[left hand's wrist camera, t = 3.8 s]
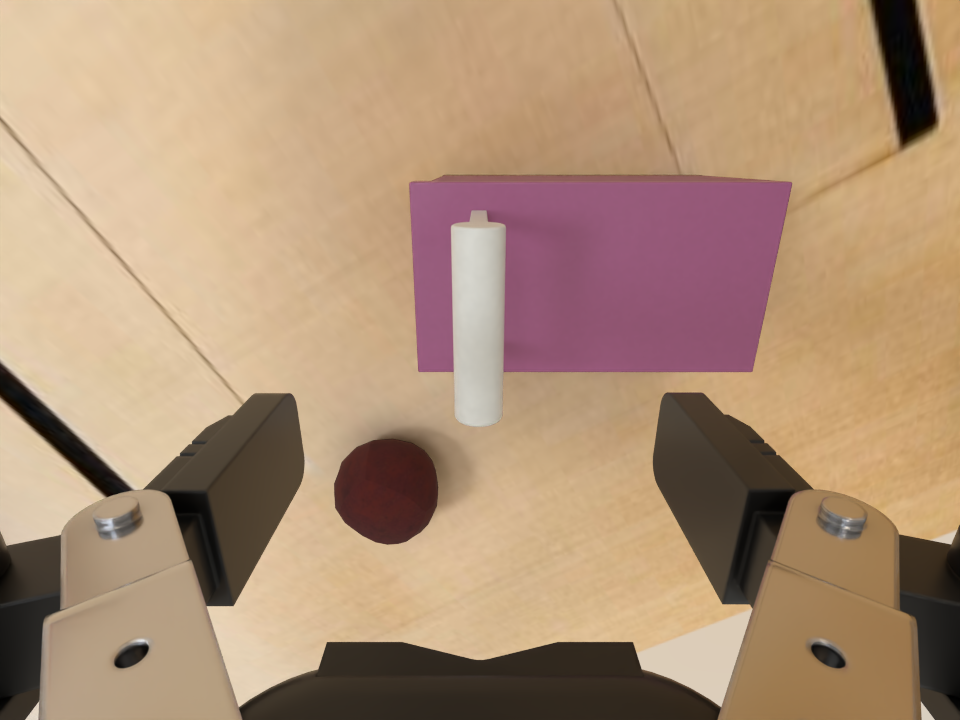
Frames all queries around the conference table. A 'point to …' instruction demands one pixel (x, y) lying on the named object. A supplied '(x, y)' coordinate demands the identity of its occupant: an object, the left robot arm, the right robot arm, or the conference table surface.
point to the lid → (589, 278)
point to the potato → (387, 490)
